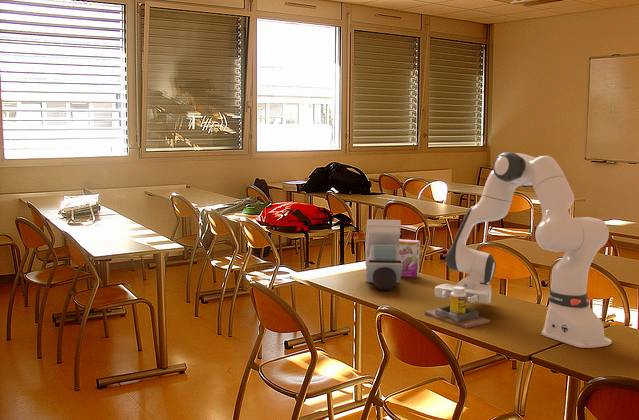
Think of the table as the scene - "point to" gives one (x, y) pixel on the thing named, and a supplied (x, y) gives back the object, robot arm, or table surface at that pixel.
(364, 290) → the table surface
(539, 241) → the robot arm
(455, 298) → the supplement bottle
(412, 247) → the candy bar box
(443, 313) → the cup holder board
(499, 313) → the table surface
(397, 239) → the robot
